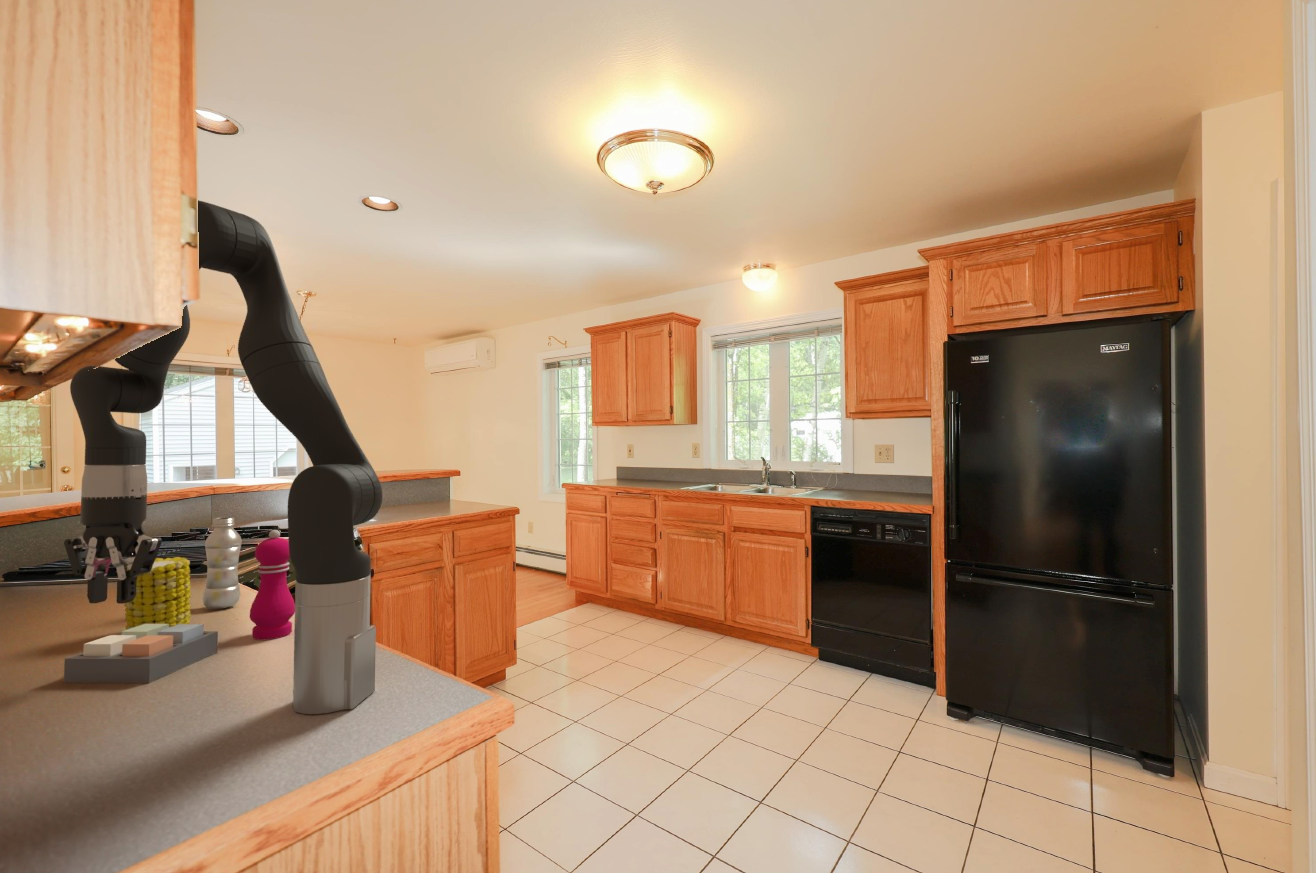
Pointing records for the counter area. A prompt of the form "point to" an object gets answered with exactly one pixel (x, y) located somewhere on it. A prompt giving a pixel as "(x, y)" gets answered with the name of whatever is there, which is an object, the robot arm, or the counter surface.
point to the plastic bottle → (222, 565)
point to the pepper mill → (272, 590)
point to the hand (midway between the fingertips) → (111, 601)
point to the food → (161, 595)
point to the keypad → (139, 663)
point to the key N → (107, 645)
